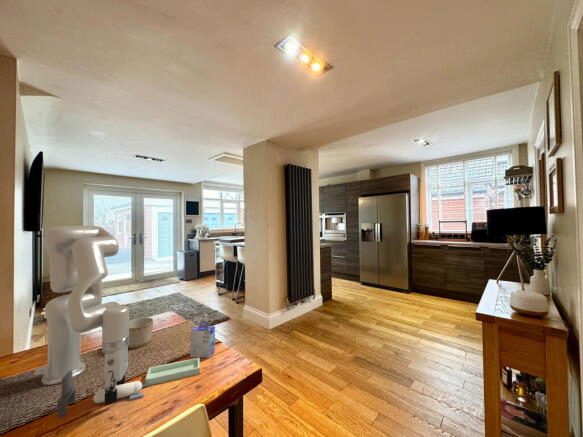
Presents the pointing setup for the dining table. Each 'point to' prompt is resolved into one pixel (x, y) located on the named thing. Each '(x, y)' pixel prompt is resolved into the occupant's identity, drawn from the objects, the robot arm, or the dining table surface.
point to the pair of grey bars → (138, 394)
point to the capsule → (119, 391)
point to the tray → (172, 371)
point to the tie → (66, 395)
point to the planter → (140, 332)
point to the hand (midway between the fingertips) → (115, 393)
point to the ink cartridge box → (202, 341)
